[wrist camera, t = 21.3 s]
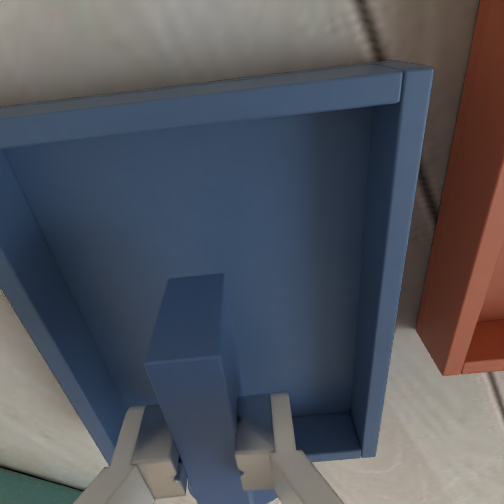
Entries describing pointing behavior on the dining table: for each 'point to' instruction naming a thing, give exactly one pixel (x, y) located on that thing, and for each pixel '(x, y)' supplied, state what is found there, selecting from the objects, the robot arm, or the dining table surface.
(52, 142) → the tray blue
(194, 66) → the dining table surface
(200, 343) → the spoon blue
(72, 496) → the shallow long dish
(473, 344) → the tray red
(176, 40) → the dining table surface
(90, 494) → the robot arm
